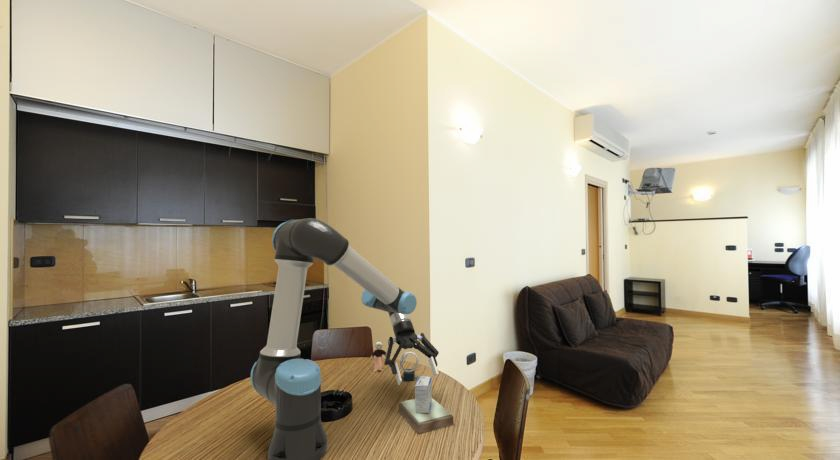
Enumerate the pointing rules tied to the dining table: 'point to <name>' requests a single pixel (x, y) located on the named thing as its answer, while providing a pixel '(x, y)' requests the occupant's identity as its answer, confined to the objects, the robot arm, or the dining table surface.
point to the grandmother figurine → (378, 357)
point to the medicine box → (423, 394)
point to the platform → (425, 416)
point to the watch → (408, 373)
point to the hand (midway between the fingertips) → (418, 379)
